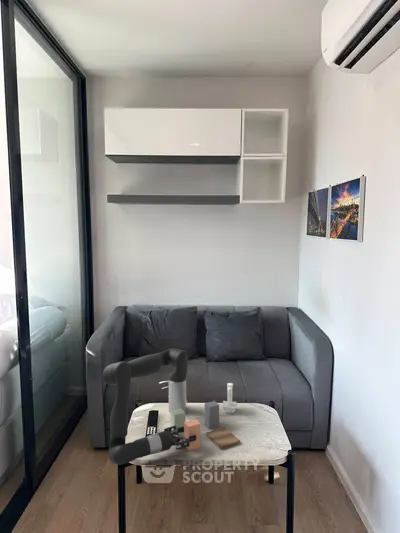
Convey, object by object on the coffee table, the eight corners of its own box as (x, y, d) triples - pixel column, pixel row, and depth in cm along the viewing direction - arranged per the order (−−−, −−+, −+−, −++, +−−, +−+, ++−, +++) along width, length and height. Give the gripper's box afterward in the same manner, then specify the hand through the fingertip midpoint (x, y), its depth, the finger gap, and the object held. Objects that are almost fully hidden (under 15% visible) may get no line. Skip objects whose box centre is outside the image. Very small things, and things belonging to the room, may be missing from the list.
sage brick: (170, 433, 176) (170, 411, 175) (181, 430, 179) (181, 408, 178) (174, 438, 172) (174, 415, 171) (185, 435, 175) (185, 412, 174)
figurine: (236, 407, 203) (236, 380, 201) (236, 415, 193) (236, 387, 192) (223, 406, 204) (223, 379, 202) (222, 414, 194) (222, 387, 193)
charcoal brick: (204, 424, 184) (204, 403, 183) (214, 422, 187) (214, 400, 186) (209, 429, 180) (209, 407, 179) (219, 426, 183) (219, 404, 182)
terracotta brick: (184, 445, 166) (184, 422, 165) (195, 442, 169) (195, 419, 168) (188, 450, 163) (188, 426, 161) (199, 447, 165) (199, 423, 164)
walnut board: (206, 435, 175) (206, 432, 174) (224, 429, 180) (224, 427, 179) (221, 449, 163) (221, 446, 163) (240, 443, 168) (240, 440, 168)
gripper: (164, 442, 151) (199, 432, 159) (150, 426, 163) (184, 417, 171) (164, 460, 151) (199, 448, 159) (151, 442, 164) (184, 433, 172)
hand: (191, 432), depth 165 cm, fingers open, 8 cm apart
